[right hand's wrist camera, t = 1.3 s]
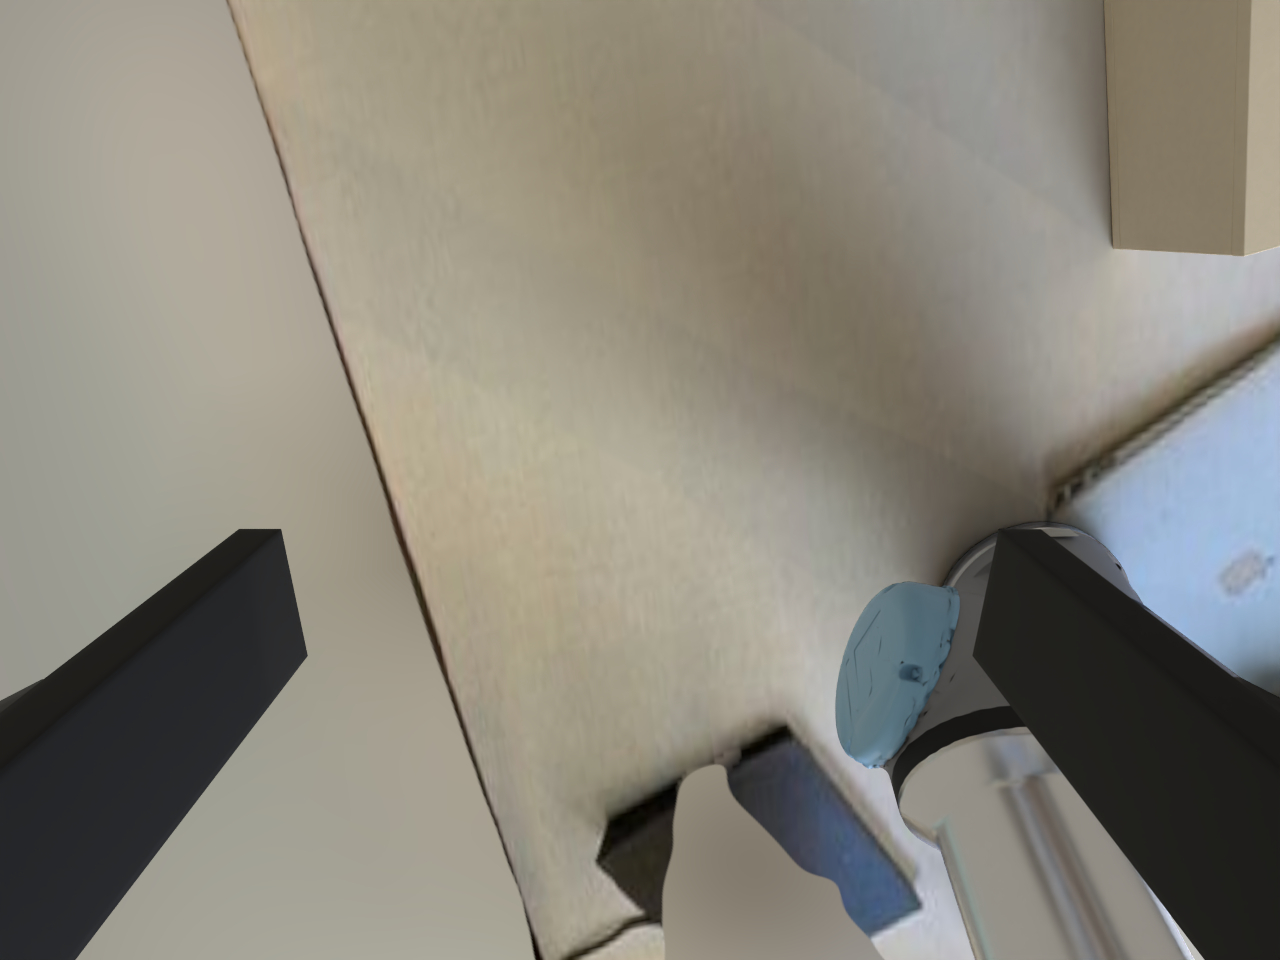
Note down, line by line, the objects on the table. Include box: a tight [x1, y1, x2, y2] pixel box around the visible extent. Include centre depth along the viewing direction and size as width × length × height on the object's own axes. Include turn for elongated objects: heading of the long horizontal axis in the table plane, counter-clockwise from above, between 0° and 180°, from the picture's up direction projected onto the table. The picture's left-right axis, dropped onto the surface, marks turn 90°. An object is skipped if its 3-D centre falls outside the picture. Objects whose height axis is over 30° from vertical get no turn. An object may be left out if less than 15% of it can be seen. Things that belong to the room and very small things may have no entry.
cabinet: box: [1104, 0, 1280, 256], centre depth 40 cm, size 20×10×11 cm, turn 16°
